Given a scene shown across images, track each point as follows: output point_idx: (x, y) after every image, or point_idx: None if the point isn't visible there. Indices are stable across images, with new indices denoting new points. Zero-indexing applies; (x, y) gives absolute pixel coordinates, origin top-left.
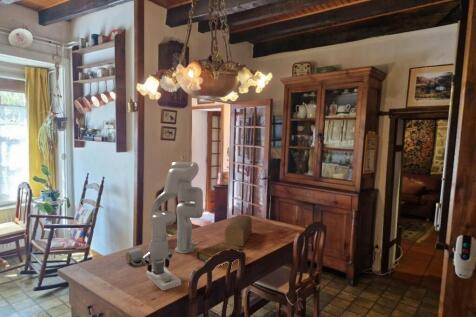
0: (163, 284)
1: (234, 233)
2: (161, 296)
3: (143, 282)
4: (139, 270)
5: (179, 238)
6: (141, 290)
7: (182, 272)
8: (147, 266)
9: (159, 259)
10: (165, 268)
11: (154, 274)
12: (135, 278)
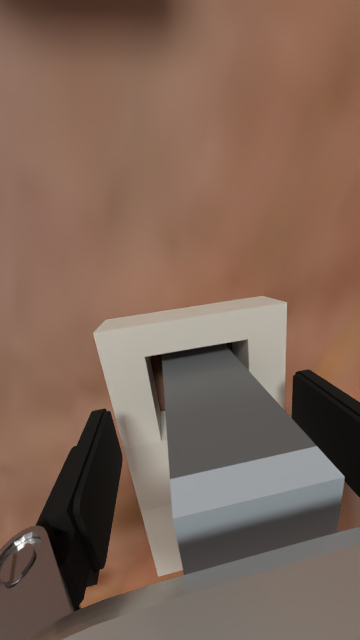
0: (167, 565)
1: None
2: (136, 570)
3: (67, 416)
4: (58, 155)
5: None
6: (41, 503)
7: (353, 378)
8: (53, 490)
9: (286, 539)
10: (282, 351)
11: (153, 427)
12: (5, 328)
